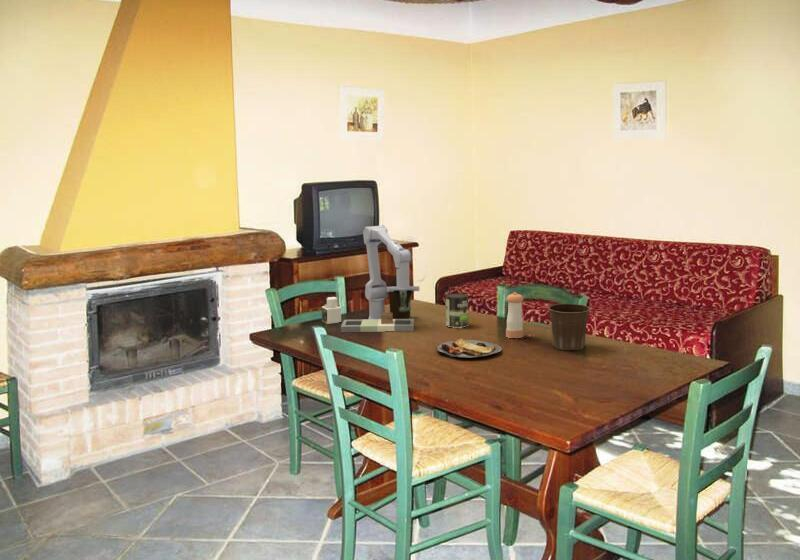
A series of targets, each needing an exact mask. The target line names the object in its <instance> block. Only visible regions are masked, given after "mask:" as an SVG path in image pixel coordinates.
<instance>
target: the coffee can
mask: <svg viewBox="0 0 800 560" xmlns="http://www.w3.org/2000/svg"><path fill="white" fill-rule="evenodd" d="M446 326H448V327H453V328H452V329H457V327H458V329H463V328H462V327H466V326H468V327H469V295H468V294H466V293H459V292H458V293H448V294H445V327H446ZM448 327H447V328H448ZM454 327H455V328H454ZM466 328H467V327H466Z"/></svg>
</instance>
